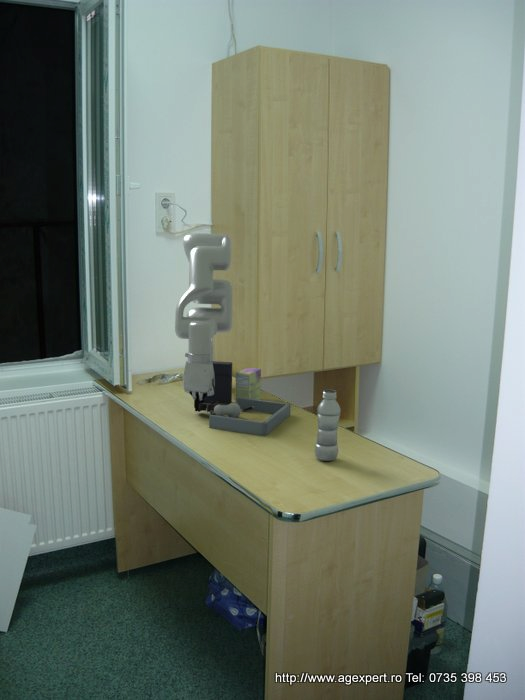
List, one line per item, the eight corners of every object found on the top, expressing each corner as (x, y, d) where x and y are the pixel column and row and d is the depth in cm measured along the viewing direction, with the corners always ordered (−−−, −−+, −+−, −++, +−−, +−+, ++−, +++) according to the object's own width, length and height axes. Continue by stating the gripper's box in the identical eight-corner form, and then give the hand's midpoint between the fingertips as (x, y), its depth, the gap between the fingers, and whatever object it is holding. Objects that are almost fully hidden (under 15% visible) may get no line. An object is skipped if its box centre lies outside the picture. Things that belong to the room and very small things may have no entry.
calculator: (231, 401, 247) (232, 361, 244) (230, 405, 242) (231, 364, 239) (202, 400, 248) (202, 360, 245) (200, 403, 243) (200, 362, 240)
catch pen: (238, 408, 239) (238, 397, 238) (290, 415, 232) (290, 403, 232) (209, 427, 217) (209, 415, 216) (265, 436, 210) (265, 423, 209)
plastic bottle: (310, 457, 193) (313, 389, 189) (331, 454, 196) (334, 387, 192) (320, 465, 187) (324, 395, 183) (342, 462, 190) (346, 393, 186)
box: (246, 397, 253) (247, 366, 251) (260, 399, 251) (261, 368, 248) (234, 404, 244) (235, 372, 241) (248, 406, 241) (249, 374, 239)
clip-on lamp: (234, 415, 240) (195, 413, 227) (236, 397, 240) (197, 395, 227) (257, 420, 232) (219, 418, 219) (259, 401, 232) (221, 399, 219)
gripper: (174, 357, 226) (174, 410, 230) (214, 362, 221) (214, 416, 225) (185, 353, 233) (184, 404, 237) (224, 358, 228) (223, 410, 231)
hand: (199, 410), depth 231 cm, fingers closed
